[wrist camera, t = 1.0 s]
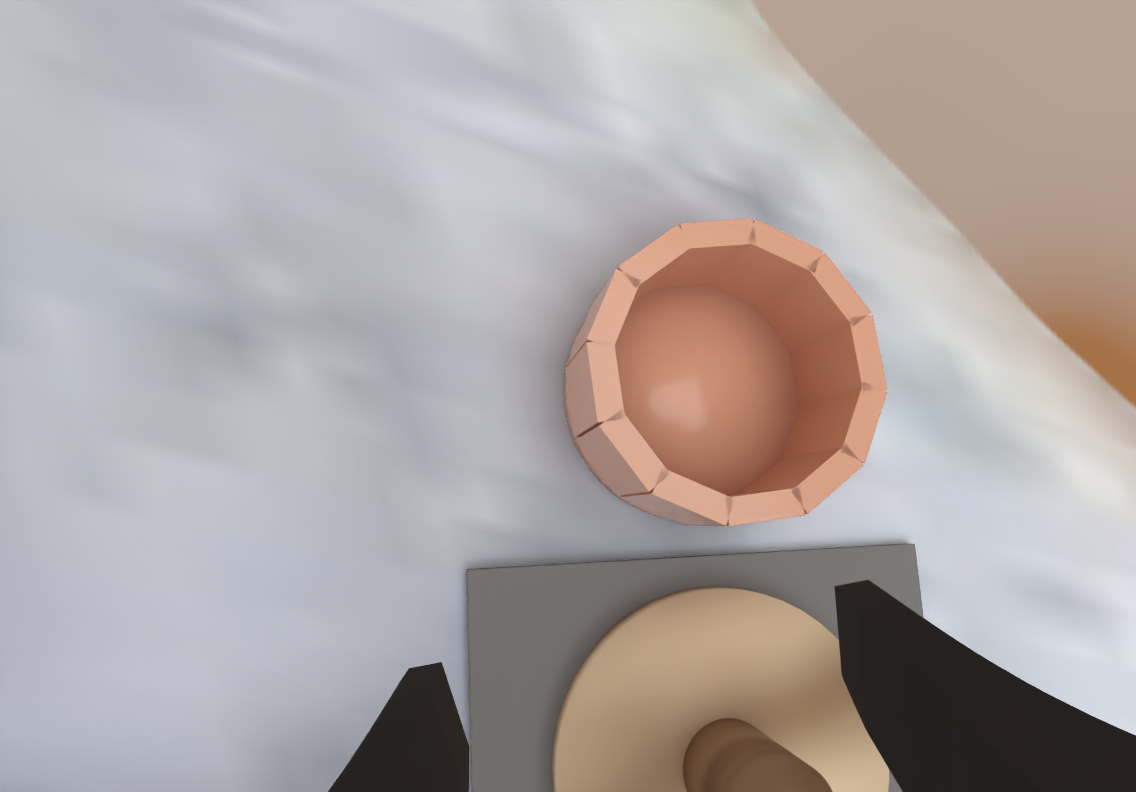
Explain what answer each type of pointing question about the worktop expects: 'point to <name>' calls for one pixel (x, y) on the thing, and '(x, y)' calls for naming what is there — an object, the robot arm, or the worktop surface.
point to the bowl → (725, 377)
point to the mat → (593, 606)
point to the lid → (714, 703)
